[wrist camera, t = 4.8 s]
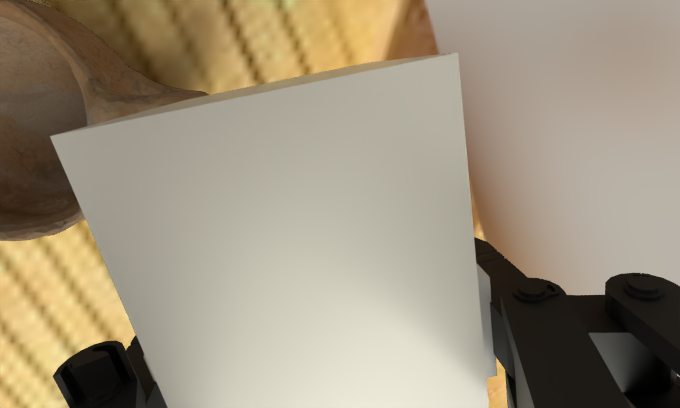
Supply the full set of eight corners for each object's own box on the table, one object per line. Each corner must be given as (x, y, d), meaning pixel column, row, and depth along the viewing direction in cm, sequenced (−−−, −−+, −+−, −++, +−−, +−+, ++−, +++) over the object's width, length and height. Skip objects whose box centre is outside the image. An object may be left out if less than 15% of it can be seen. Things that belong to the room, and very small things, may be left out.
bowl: (168, -71, 24) (121, -75, 15) (244, 142, 32) (240, 213, 23) (-138, -1, 23) (-359, 34, 15) (19, 198, 31) (-67, 292, 23)
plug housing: (188, 99, 13) (49, 136, 6) (365, 63, 13) (457, 52, 6) (276, 382, 17) (262, 626, 10) (411, 350, 17) (502, 563, 10)
